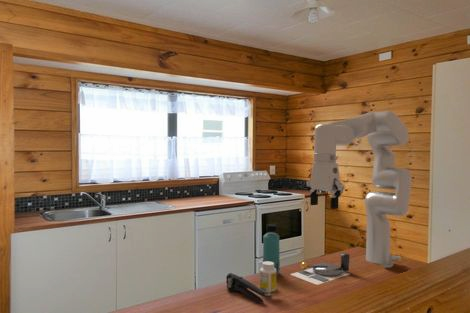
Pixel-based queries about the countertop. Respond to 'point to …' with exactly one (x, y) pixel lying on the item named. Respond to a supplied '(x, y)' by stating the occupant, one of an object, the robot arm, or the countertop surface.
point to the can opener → (243, 286)
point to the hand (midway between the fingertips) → (323, 206)
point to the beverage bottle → (271, 247)
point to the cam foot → (330, 267)
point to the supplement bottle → (268, 278)
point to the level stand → (316, 276)
